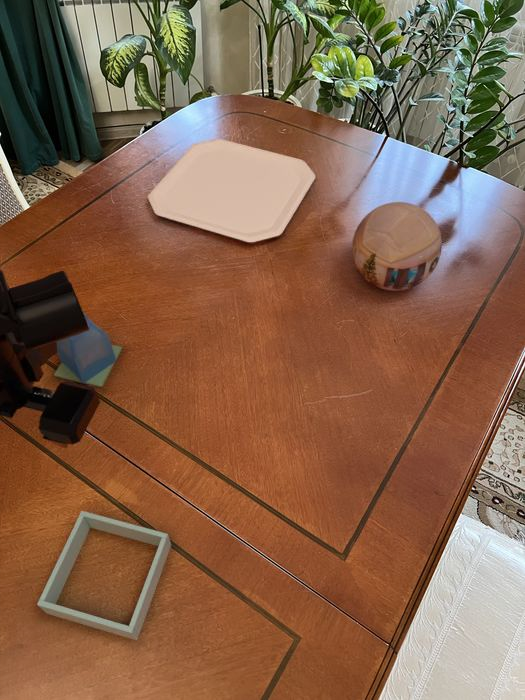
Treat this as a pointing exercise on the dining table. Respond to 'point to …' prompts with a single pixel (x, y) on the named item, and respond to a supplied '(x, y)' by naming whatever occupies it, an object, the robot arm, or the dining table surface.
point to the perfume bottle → (86, 352)
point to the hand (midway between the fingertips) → (31, 435)
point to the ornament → (396, 246)
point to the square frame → (69, 558)
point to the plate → (233, 190)
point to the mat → (95, 381)
